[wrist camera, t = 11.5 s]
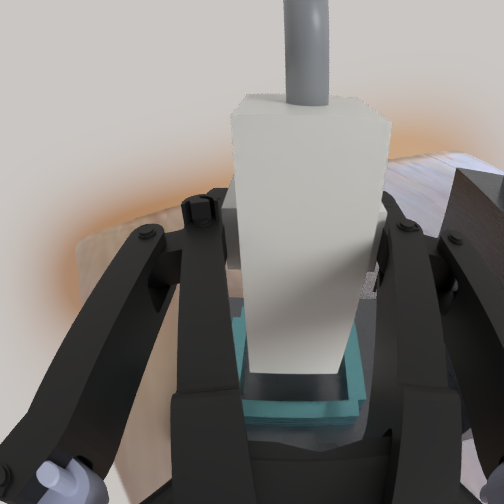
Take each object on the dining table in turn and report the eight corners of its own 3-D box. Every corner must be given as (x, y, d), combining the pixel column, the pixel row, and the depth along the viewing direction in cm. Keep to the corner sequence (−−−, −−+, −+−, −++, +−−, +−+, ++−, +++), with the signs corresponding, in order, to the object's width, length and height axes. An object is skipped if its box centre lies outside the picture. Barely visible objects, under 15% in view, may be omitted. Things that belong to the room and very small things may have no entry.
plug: (257, 299, 19) (244, -16, 9) (329, 301, 19) (352, -12, 9) (249, 372, 15) (221, -53, 5) (337, 373, 14) (392, -43, 4)
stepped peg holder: (216, 300, 25) (192, 134, 17) (510, 296, 22) (560, 172, 14) (182, 453, 15) (70, 283, 7) (559, 403, 12) (657, 272, 4)
